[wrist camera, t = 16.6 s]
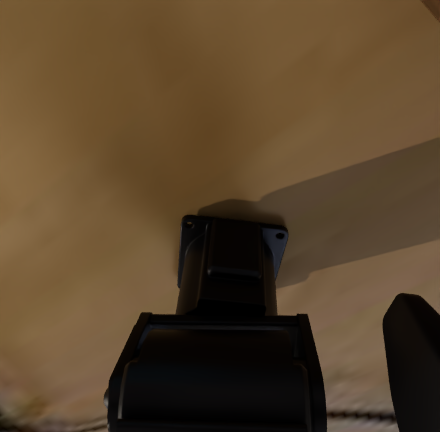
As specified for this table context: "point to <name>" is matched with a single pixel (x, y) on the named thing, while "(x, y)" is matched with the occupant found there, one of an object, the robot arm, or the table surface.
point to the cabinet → (433, 7)
